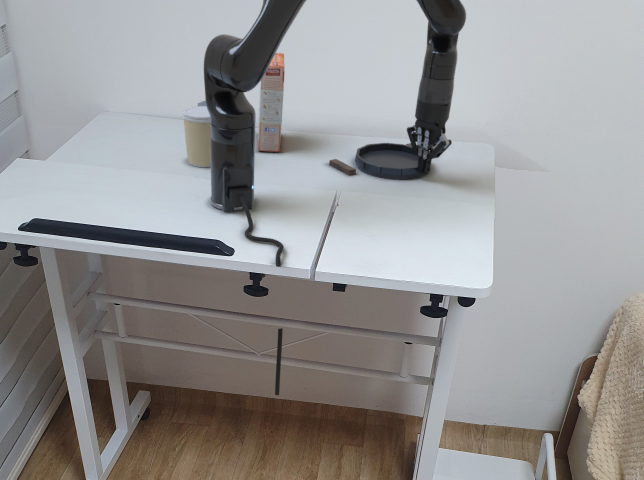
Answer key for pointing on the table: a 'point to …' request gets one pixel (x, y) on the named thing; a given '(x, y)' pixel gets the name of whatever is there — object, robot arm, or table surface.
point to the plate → (388, 161)
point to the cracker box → (271, 105)
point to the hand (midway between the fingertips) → (423, 173)
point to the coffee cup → (197, 136)
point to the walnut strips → (345, 166)
